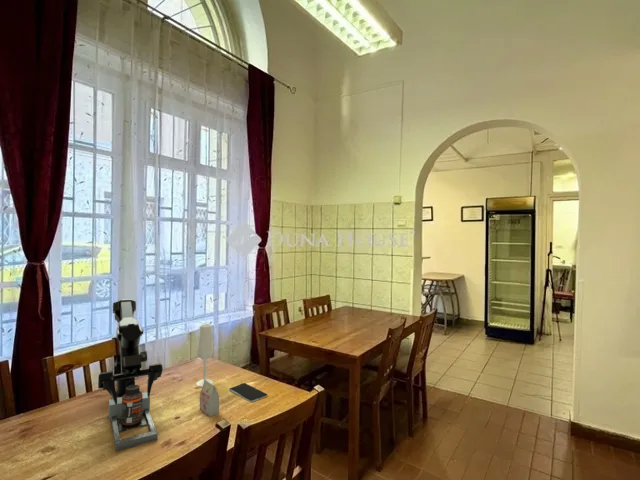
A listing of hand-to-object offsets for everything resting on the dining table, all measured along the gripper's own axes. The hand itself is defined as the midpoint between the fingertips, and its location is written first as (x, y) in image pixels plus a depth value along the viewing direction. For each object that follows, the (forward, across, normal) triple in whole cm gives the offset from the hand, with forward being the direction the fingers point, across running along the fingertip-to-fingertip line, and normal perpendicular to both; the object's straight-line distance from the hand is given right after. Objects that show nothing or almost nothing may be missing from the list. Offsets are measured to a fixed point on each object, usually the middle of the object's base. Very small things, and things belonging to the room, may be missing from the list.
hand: (132, 400), depth 113 cm
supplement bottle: (+4, 0, +7) cm, 8 cm away
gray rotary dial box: (-1, 0, +12) cm, 12 cm away
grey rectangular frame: (+8, 0, +4) cm, 8 cm away
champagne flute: (-9, +29, +21) cm, 37 cm away
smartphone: (+4, +41, +8) cm, 42 cm away
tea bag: (+8, +24, +4) cm, 25 cm away
